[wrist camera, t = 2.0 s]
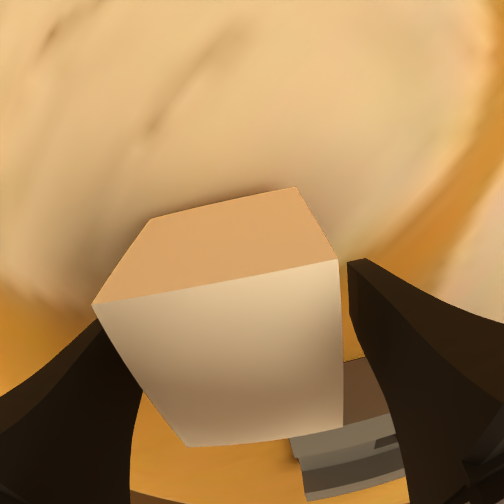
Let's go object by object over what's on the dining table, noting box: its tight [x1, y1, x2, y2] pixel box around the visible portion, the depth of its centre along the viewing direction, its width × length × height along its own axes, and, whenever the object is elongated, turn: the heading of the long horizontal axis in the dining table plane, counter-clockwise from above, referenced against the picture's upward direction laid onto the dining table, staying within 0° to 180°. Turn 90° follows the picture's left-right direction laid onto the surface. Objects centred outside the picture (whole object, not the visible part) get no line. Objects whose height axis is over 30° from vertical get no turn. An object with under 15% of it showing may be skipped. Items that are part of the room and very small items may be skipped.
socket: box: [289, 357, 406, 502], centre depth 17 cm, size 13×13×4 cm
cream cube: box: [91, 187, 343, 447], centre depth 10 cm, size 5×6×6 cm
